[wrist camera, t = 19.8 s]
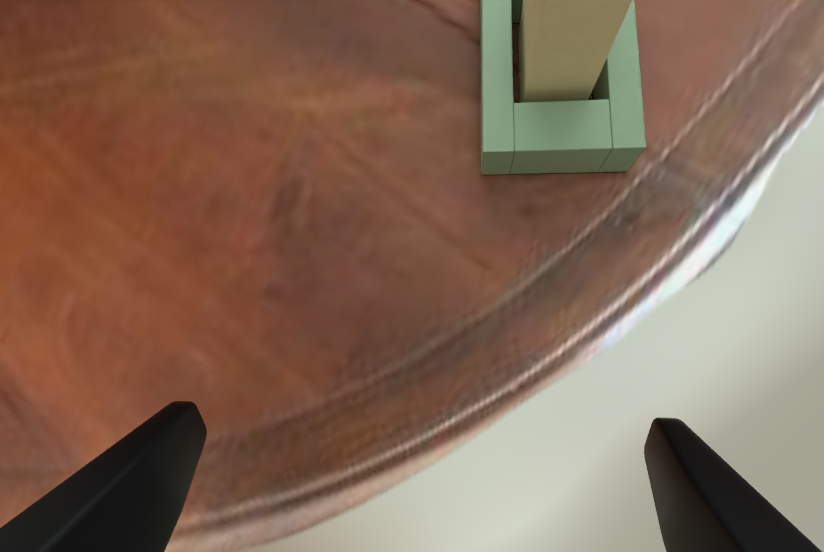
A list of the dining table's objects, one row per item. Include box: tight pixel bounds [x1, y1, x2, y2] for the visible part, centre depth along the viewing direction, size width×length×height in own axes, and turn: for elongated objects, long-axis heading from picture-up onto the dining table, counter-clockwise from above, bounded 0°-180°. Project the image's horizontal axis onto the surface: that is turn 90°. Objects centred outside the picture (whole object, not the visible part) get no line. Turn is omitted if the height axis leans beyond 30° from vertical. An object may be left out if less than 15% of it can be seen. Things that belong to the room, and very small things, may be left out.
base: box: [480, 0, 646, 175], centre depth 23 cm, size 11×7×2 cm, turn 179°
